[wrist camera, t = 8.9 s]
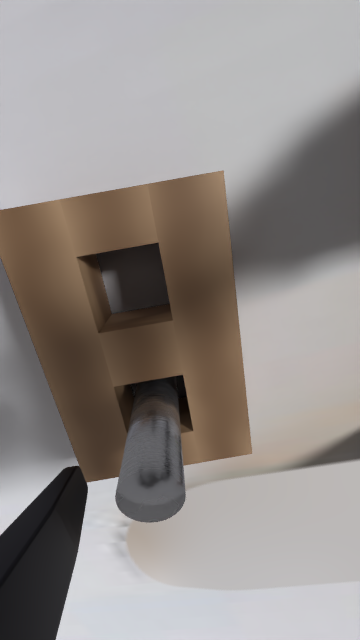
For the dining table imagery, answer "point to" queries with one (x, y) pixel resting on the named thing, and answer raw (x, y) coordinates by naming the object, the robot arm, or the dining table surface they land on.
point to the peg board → (133, 315)
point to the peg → (153, 455)
